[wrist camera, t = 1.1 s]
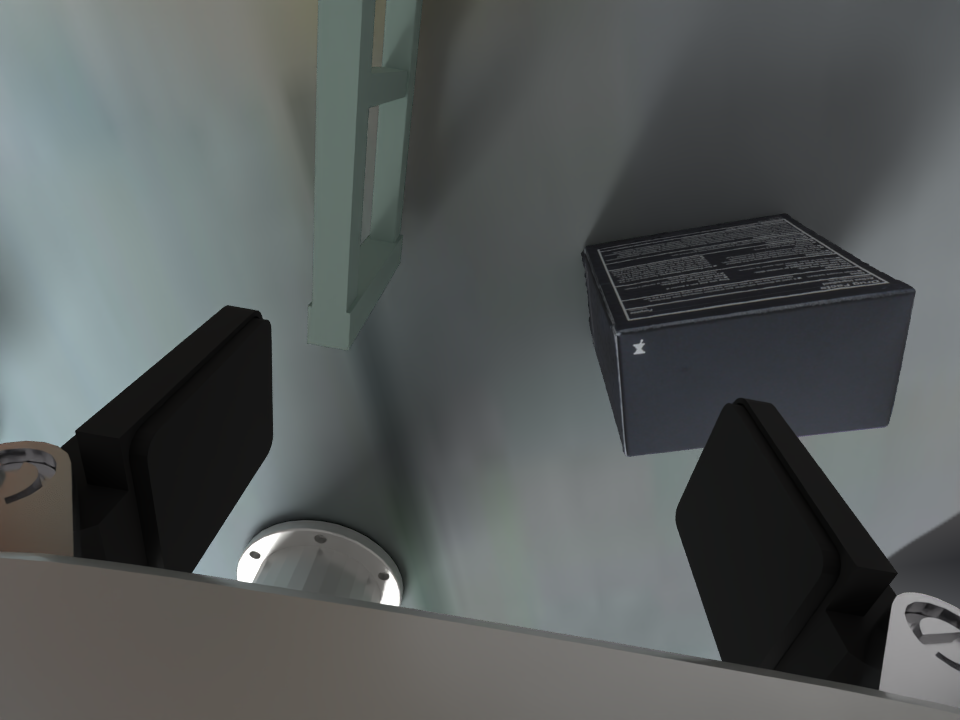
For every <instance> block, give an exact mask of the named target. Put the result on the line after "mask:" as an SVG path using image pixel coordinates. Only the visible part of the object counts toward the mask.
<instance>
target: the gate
mask: <svg viewBox="0 0 960 720" xmlns="http://www.w3.org/2000/svg"><path fill="white" fill-rule="evenodd" d="M422 2H423V0H386V14H385V29H384V43H383V57H382V67H371V65H372V49H373V33H374V17H375V0H318V43H317V93H316V143H315V193H314V243H313V293H312V302H311V303H310V304H309V305H308V335H307V344H313V345H318V346H324V347H330V348H336V349H341V350H347V351H348V350H349V349H350V347H351V345H352V344H353V342H354V340H355V339H356V337H357V335H358V333H359V332H360V330H361V328H362V327H363V325H364V323H365V322H366V320H367V318H368V317H369V315H370V313H371V312H372V310H373V308H374V307H375V305H376V303H377V301H378V300H379V298H380V296H381V295H382V293H383V291H384V290H385V288H386V286H387V285H388V283H389V281H390V280H391V278H392V276H393V274H394V273H395V271H396V269H397V268H398V266H399V264H400V260H401V250H402V240H403V235H400V230H401V220H402V209H403V199H404V189H405V178H406V168H407V158H408V147H409V137H410V127H411V116H412V106H413V96H414V85H415V75H416V64H417V54H418V44H419V33H420V23H421V13H422ZM377 105H379V114H378V129H377V143H376V157H375V172H374V186H373V200H372V214H371V229H370V235H369V236H368V237H367V239H366V240H365V241H364V242H363V243H362V244H361V245H360V243H361V226H362V210H363V194H364V178H365V162H366V146H367V130H368V113H369V108H370V107H374V106H377Z"/></svg>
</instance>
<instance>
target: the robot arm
mask: <svg viewBox="0 0 960 720" xmlns="http://www.w3.org/2000/svg"><path fill="white" fill-rule="evenodd" d="M75 433H76V435H75V436H74V437H72V438H71V439H70V440H69V441H68V442H66V443H65V444H64V445H63V446H62V447H61V448H60V447H59V446H55V445H52V444H49V443H45V442H34V441H20V442H10V443H3V444H0V720H960V610H959V609H958V608H956V607H954V606H952V605H950V604H948V603H946V602H944V601H941V600H940V599H937V598H935V597H931V596H928V595H924V594H921V593H903V594H901V595H898V596H897V595H896V594H895V593H894V591H893V590H892V588H891V587H890V585H889V584H890V583H891V581H892V580H893V579H894V578H895V576H896V575H897V574H898V573H897V572H896V570H895V569H894V568H893V566H892V565H891V564H890V562H889V561H888V559H887V558H886V557H885V555H884V554H883V553H882V551H881V550H880V548H879V547H878V546H877V544H876V543H875V542H874V540H873V539H872V538H871V536H870V535H869V534H868V532H867V531H866V529H865V528H864V527H863V525H862V524H861V523H860V521H859V520H858V519H857V517H856V516H855V515H854V513H853V512H852V511H851V509H850V508H849V506H848V505H847V504H846V502H845V501H844V500H843V498H842V497H841V496H840V494H839V493H838V492H837V490H836V489H835V487H834V486H833V485H832V483H831V482H830V481H829V479H828V478H827V477H826V475H825V474H824V473H823V471H822V470H821V468H820V467H819V466H818V464H817V463H816V462H815V460H814V459H813V458H812V456H811V455H810V454H809V452H808V451H807V449H806V448H805V447H804V445H803V444H802V443H801V441H800V440H799V439H798V437H797V436H796V435H795V433H794V432H793V430H792V429H791V428H790V426H789V425H788V424H787V422H786V421H785V420H784V418H783V417H782V416H781V414H780V413H779V411H778V410H777V409H776V407H775V406H774V405H773V404H772V403H768V402H763V401H757V400H752V399H746V398H738V399H736V400H735V401H734V402H733V404H732V403H727V404H726V405H725V406H724V407H723V408H722V410H721V412H720V414H719V417H718V419H717V421H716V423H715V425H714V428H713V430H712V432H711V434H710V436H709V438H708V441H707V443H706V445H705V447H704V449H703V452H702V454H701V456H700V458H699V460H698V462H697V465H696V467H695V469H694V471H693V473H692V475H691V478H690V480H689V482H688V484H687V486H686V489H685V491H684V493H683V495H682V497H681V499H680V502H679V504H678V506H677V510H676V526H677V529H678V532H679V535H680V538H681V541H682V544H683V547H684V550H685V553H686V556H687V558H688V561H689V564H690V567H691V570H692V573H693V576H694V579H695V582H696V585H697V588H698V591H699V594H700V597H701V600H702V603H703V606H704V609H705V612H706V615H707V618H708V621H709V624H710V627H711V630H712V633H713V636H714V639H715V642H716V645H717V648H718V651H719V654H720V657H721V660H722V661H717V660H711V659H706V658H700V657H694V656H688V655H683V654H677V653H671V652H665V651H659V650H654V649H648V648H642V647H636V646H631V645H625V644H619V643H613V642H608V641H602V640H596V639H590V638H584V637H578V636H572V635H566V634H560V633H554V632H548V631H543V630H537V629H531V628H525V627H519V626H513V625H507V624H501V623H495V622H489V621H483V620H477V619H471V618H465V617H459V616H453V615H447V614H441V613H435V612H429V611H423V610H417V609H411V608H405V607H400V605H401V600H402V594H403V583H402V577H401V575H400V572H399V570H398V567H397V566H396V564H395V563H394V561H393V560H392V558H391V557H390V556H389V555H388V554H387V553H386V552H385V551H384V550H383V549H382V548H381V547H380V546H379V545H377V544H376V543H375V542H373V541H372V540H370V539H369V538H368V537H366V536H364V535H362V534H360V533H358V532H356V531H354V530H352V529H349V528H346V527H343V526H341V525H338V524H333V523H328V522H323V521H312V520H299V521H288V522H284V523H280V524H276V525H273V526H271V527H269V528H267V529H265V530H263V531H261V532H260V533H259V534H257V535H256V536H255V537H254V538H252V540H251V541H250V542H249V544H248V545H247V546H246V548H245V550H244V552H243V554H242V555H241V557H240V559H239V562H238V566H237V580H233V579H226V578H220V577H213V576H207V575H200V574H193V573H192V572H193V570H194V569H195V567H196V566H197V564H198V563H199V561H200V559H201V558H202V556H203V555H204V553H205V552H206V550H207V549H208V547H209V545H210V544H211V542H212V541H213V539H214V538H215V536H216V535H217V533H218V531H219V530H220V528H221V527H222V525H223V524H224V522H225V520H226V519H227V517H228V516H229V514H230V513H231V511H232V510H233V508H234V506H235V505H236V503H237V502H238V500H239V499H240V497H241V495H242V494H243V492H244V491H245V489H246V488H247V486H248V485H249V483H250V481H251V480H252V478H253V477H254V475H255V474H256V472H257V471H258V469H259V467H260V466H261V464H262V463H263V461H264V460H265V458H266V456H267V455H268V453H269V451H270V448H271V445H272V440H273V404H272V340H271V324H270V322H269V320H264V319H263V318H262V315H261V313H260V312H259V311H257V310H251V309H246V308H240V307H235V306H229V305H227V306H225V307H223V308H222V309H221V310H220V311H219V312H217V313H216V314H215V315H214V316H213V317H211V318H210V319H209V320H208V321H207V322H205V323H204V324H203V325H202V326H201V327H199V328H198V329H197V330H196V331H195V332H193V333H192V334H191V335H190V336H189V337H187V338H186V339H185V340H184V341H183V342H181V343H180V344H179V345H178V346H176V347H175V348H174V349H173V350H172V351H170V352H169V353H168V354H167V355H166V356H164V357H163V358H162V359H161V360H160V361H158V362H157V363H156V364H155V365H154V366H152V367H151V368H150V369H149V370H148V371H146V372H145V373H144V374H143V375H142V376H140V377H139V378H138V379H137V380H136V381H134V382H133V383H132V384H131V385H130V386H128V387H127V388H126V389H125V390H124V391H122V392H121V393H120V394H119V395H118V396H116V397H115V398H114V399H113V400H112V401H110V402H109V403H108V404H107V405H106V406H104V407H103V408H102V409H101V410H100V411H98V412H97V413H96V414H95V415H94V416H92V417H91V418H90V419H89V420H88V421H86V422H85V423H84V424H83V425H82V426H80V427H79V428H78V429H77V430H76V431H75Z"/></svg>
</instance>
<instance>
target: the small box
mask: <svg viewBox="0 0 960 720" xmlns="http://www.w3.org/2000/svg"><path fill="white" fill-rule="evenodd" d="M581 255H582V261H583V265H584V267H585V278H586V286H587V293H588V307H589V314H590V317H589V322H590V330H591V334H592V338H593V344H594V347H595V350H596V355H597V358H598V361H599V365H600V368H601V372H602V375H603V379H604V382H605V385H606V389H607V393H608V396H609V400H610V403H611V407H612V410H613V414H614V418H615V422H616V425H617V428H618V432H619V435H620V439H621V442H622V446H623V452H624V454H625V455H626V456H628V457H631V456H638V455H646V454H655V453H665V452H673V451H681V450H689V449H697V448H704V447H705V445H706V443H707V441H708V438H709V436H710V434H711V432H712V430H713V428H714V425H715V423H716V421H717V419H718V417H719V414H720V412H721V410H722V408H723V407H724V406H725V405H726V404H727V403H732V404H733V402H734V401H735V400H736V399H738V398H746V399H752V400H757V401H763V402H768V403H772V404H773V405H774V406H775V407H776V409H777V410H778V411H779V413H780V414H781V416H782V417H783V418H784V420H785V421H786V422H787V424H788V425H789V426H790V428H791V429H792V430H793V432H794V433H795V435H796V436H797V437H801V436H810V435H818V434H827V433H837V432H846V431H855V430H864V429H873V428H882V427H886V426H887V425H888V424H889V421H890V417H891V414H892V410H893V406H894V401H895V395H896V392H897V385H898V382H899V375H900V371H901V367H902V361H903V354H904V350H905V345H906V340H907V335H908V330H909V324H910V319H911V313H912V308H913V303H914V297H915V292H916V291H915V289H914V288H913V287H911V286H909V285H908V284H906V283H904V282H902V281H900V280H895V279H894V278H892V277H890V276H889V275H887V274H885V273H883V272H880V271H878V270H877V269H875V268H873V267H872V266H869V264H867V263H864V262H862V261H861V260H860V259H858V258H856V257H855V256H853V255H852V254H850V253H848V252H847V251H845V250H843V249H841V248H840V247H838V246H837V245H835V244H833V243H831V242H829V241H828V240H826V239H825V238H823V237H822V236H820V235H817V234H816V233H815V232H814V231H812V230H810V229H808V228H806V227H805V226H803V225H802V224H800V223H799V222H798V221H796V220H794V219H792V218H791V217H790V216H789V215H788V214H780V215H775V216H768V217H762V218H756V219H749V220H743V221H737V222H731V223H724V224H717V225H713V226H706V227H700V228H694V229H688V230H682V231H675V232H670V233H662V234H656V235H651V236H645V237H639V238H633V239H627V240H620V241H615V242H609V243H603V244H598V245H592V246H586V247H585V248H584V250H583V252H582V253H581Z"/></svg>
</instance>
